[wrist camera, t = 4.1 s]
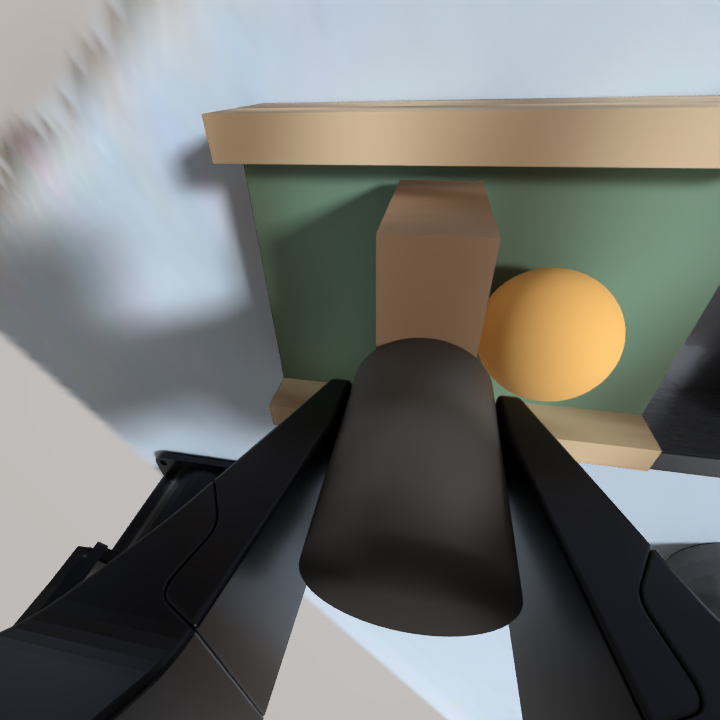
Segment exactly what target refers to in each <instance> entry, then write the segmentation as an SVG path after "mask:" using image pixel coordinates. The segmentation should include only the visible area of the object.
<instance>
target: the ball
mask: <svg viewBox="0 0 720 720" xmlns="http://www.w3.org/2000/svg"><path fill="white" fill-rule="evenodd" d="M625 332H626V327H625V321H624V317H623V313H622V311H621V308H620V306H619V304H618V303H617V301H616V299H615V298H614V296H613V295H612V294H611V293H610V291H609V290H608V289H607V288H606V287H605V286H604V285H602V284H601V283H600V282H599V281H597V280H595V279H594V278H592V277H590V276H588V275H587V274H584V273H582V272H579V271H575V270H571V269H567V268H559V267H547V268H539V269H535V270H530V271H527V272H524V273H522V274H519V275H517V276H515V277H513V278H512V279H510V280H508V281H507V282H505V283H504V284H503V285H501V286H500V287H499V288H498V289H497V290H496V291H495V292H494V293H493V294H492V295H491V296H490V298H489V299H488V304H487V309H486V314H485V319H484V324H483V329H482V333H481V338H480V343H479V348H478V354H479V357H480V359H481V362H482V364H483V366H484V367H485V369H486V370H487V372H488V373H489V374H490V376H491V377H492V378H493V379H494V380H495V381H496V382H497V383H498V384H499V385H501V386H502V387H503V388H505V389H506V390H508V391H509V392H511V393H513V394H515V395H518V396H520V397H523V398H526V399H530V400H535V401H545V402H554V401H563V400H568V399H571V398H575V397H578V396H580V395H583V394H585V393H587V392H588V391H590V390H592V389H593V388H595V387H596V386H598V385H599V384H600V383H601V382H603V381H604V380H605V379H606V378H607V377H608V376H609V375H610V373H611V372H612V371H613V369H614V368H615V367H616V365H617V363H618V361H619V359H620V357H621V354H622V352H623V349H624V344H625Z"/></svg>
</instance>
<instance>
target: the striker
mask: <svg viewBox="0 0 720 720" xmlns="http://www.w3.org/2000/svg"><path fill="white" fill-rule="evenodd" d="M500 240H501V237H500V234H499V231H498V228H497V225H496V221H495V218H494V215H493V212H492V209H491V206H490V202H489V199H488V196H487V193H486V190H485V187H484V183H483V181H448V180H400V181H399V183H398V185H397V188H396V190H395V192H394V194H393V197H392V199H391V201H390V203H389V206H388V208H387V210H386V212H385V215H384V217H383V219H382V221H381V224H380V226H379V228H378V231H377V233H376V350H374V351H373V352H372V353H371V354H369V355H368V356H367V357H366V358H365V359H364V361H363V362H362V363H361V365H360V366H359V368H358V370H357V373H356V375H355V378H354V382H353V385H352V388H351V391H350V395H349V398H348V401H347V405H346V408H345V411H344V414H343V418H342V421H341V424H340V428H339V431H338V434H337V437H336V441H335V444H334V447H333V451H332V454H331V457H330V460H329V464H328V467H327V470H326V474H325V477H324V480H323V483H322V487H321V490H320V493H319V496H318V500H317V503H316V506H315V510H314V513H313V516H312V519H311V523H310V526H309V529H308V533H307V536H306V539H305V542H304V546H303V549H302V552H301V556H300V559H299V572H300V574H301V577H302V579H303V580H304V582H305V584H306V585H307V586H308V587H309V588H310V589H311V591H313V592H314V593H315V594H316V595H317V596H318V597H320V598H321V599H322V600H324V601H325V602H326V603H328V604H330V605H331V606H333V607H334V608H336V609H338V610H340V611H342V612H344V613H346V614H348V615H350V616H353V617H355V618H358V619H360V620H363V621H365V622H368V623H371V624H374V625H377V626H381V627H385V628H388V629H393V630H397V631H401V632H407V633H412V634H420V635H429V636H448V637H451V636H469V635H477V634H483V633H487V632H491V631H494V630H497V629H500V628H502V627H504V626H506V625H508V624H510V623H511V622H512V621H513V620H515V619H516V618H517V616H518V615H519V614H520V612H521V610H522V607H523V595H522V588H521V581H520V574H519V567H518V560H517V553H516V546H515V538H514V531H513V524H512V517H511V510H510V503H509V496H508V489H507V482H506V475H505V468H504V461H503V454H502V447H501V440H500V433H499V426H498V419H497V412H496V405H495V398H494V391H493V385H492V381H491V378H490V376H489V374H488V372H487V370H486V369H485V367H484V366H483V365H482V364H481V362H480V361H479V360H478V359H477V353H478V348H479V343H480V338H481V333H482V329H483V324H484V319H485V314H486V309H487V304H488V299H489V294H490V289H491V284H492V279H493V274H494V269H495V264H496V259H497V255H498V250H499V245H500Z"/></svg>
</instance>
